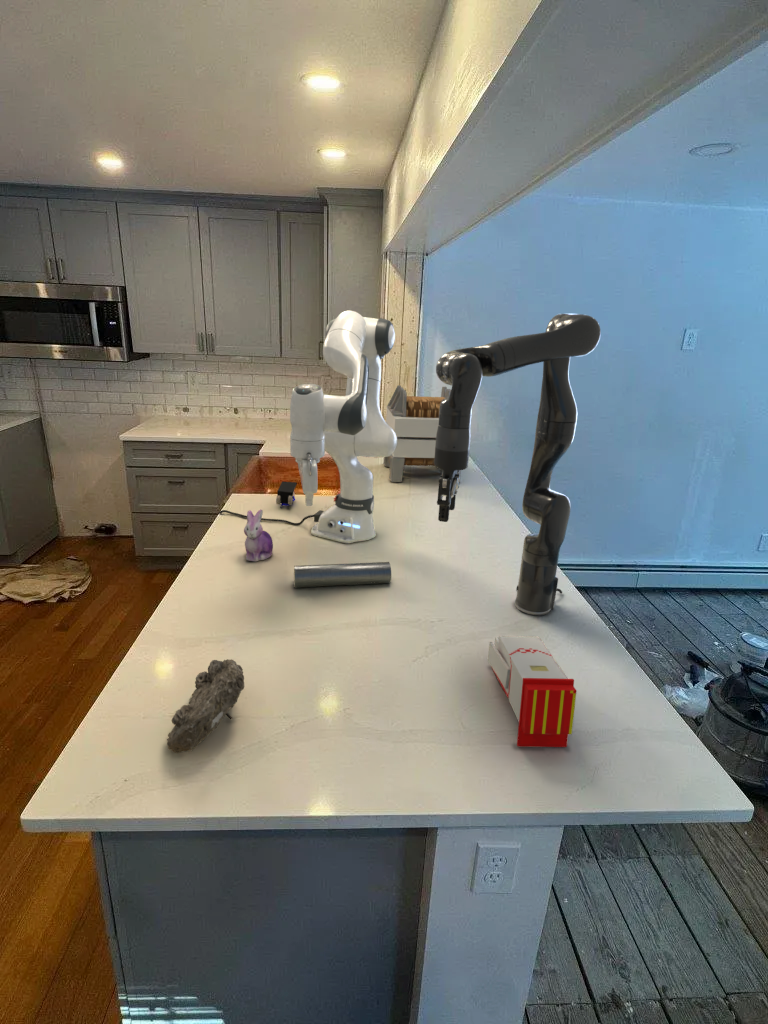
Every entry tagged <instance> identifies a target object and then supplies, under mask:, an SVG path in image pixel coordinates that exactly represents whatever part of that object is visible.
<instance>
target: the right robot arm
mask: <svg viewBox="0 0 768 1024" xmlns="http://www.w3.org/2000/svg"><path fill="white" fill-rule="evenodd" d="M600 340H601V326H600V323H599V322H598V320H597V319H596V318H594V317H593V316H591V315H588V314H584V313H583V314H582V313H558V314H556V315H554V316H553V317H552V318H551V319H550V320H549V322H548V324H547V326H546V329H545V332H544V331H543V332H538V333H532V334H524V335H517V336H516V335H515V336H510V337H507V338H506V337H505V338H503V339H499V340H496V341H495V340H494V341H492V342H489V343H486V344H483V345H479V346H478V345H477V346H469V347H464V348H458V349H453V350H450V351H448V352H446V353H443V355H442V356H441V357H439V359H438V360H437V362H436V366H435V373H436V376H437V378H438V379H439V380H440V381H441V382H442V383H443V384H445V385H447V386H451V388H450V390H451V392H450V396H449V397H448V398H445V399H443V400H442V401H441V403H440V408H439V421H438V429H437V434H436V444H435V458H434V465H435V466H434V467H436V468H437V469H438V468H441V469H442V470H443V473H442V474H441V475H440V476H439V479H438V489H437V491H438V492H437V500H436V504H437V506H438V518H437V520H438V521H439V522H443V523H448V522H449V519H450V511H454V510H455V508H456V498H457V493H458V490H459V488H460V482H459V479H460V480H461V474H460V470H461V471H464V470H466V469H468V467H469V459H470V447H471V426H472V425H471V424H472V413H473V406H474V404H475V401H476V399H477V396H478V393H479V390H480V388H481V383H482V379H483V377H488V378H490V377H496V376H500V375H502V374H507V373H509V372H512V371H515V370H518V369H522V368H525V367H527V366H532V365H536V364H539V363H542V381H541V390H540V397H539V398H540V399H539V407H538V412H537V413H538V414H537V418H536V426H535V435H534V443H533V450H532V456H531V463H530V467H529V472H528V476H527V481H526V484H525V489H524V493H523V498H522V504H521V506H522V507H521V508H522V509H521V510H522V514H523V516H524V517H525V518H527V519H528V520H529V521H532V522H534V523H536V524H538V525H540V527H539V531H538V532H532V533H529V534H527V535H526V536H525V537H524V540H523V546H522V553H521V562H520V569H519V574H518V582H517V586H516V587H515V588H516V590H515V591H516V598H515V601H514V606H515V608H516V609H517V610H519V611H520V612H521V613H524V614H527V615H531V616H545V615H547V614H549V613H550V612H551V611H554V607H555V602H556V595H557V592H559V594H563V590H561V588H558V584H559V577H558V576H557V571H558V570H557V569H558V563H559V556H560V551H561V548H562V545H563V543H564V541H565V538H566V533H567V529H568V524H569V520H570V515H571V501H570V498H569V497H568V496H566V495H565V494H563V493H561V492H558V491H555V490H553V489H551V481H552V476H553V471H554V469H555V467H556V465H557V464H558V463H559V461H560V460H561V459H562V457H563V456H565V454H566V452H567V451H568V450H569V448H571V446H572V444H573V441H574V438H575V433H576V428H577V421H578V408H577V407H578V406H577V403H576V400H575V396H574V394H573V393H574V392H573V389H572V386H571V383H570V376H569V373H570V372H569V371H570V362H571V358H572V357H574V358H575V357H577V358H578V357H584V356H587V355H589V354H590V353H591V352H593V351H594V350H595V349H596V347H597V346H598V344H599V342H600ZM459 474H460V475H459ZM444 497H445V499H443V498H444Z"/></svg>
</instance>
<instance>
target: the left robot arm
mask: <svg viewBox="0 0 768 1024" xmlns="http://www.w3.org/2000/svg"><path fill="white" fill-rule="evenodd" d="M325 327H326V328H325V339H324V342H323V346H322V357H323V359H324V361H325V363H326V365H328V367H329V368H330V369H332V370H333V371H334V372H336V373H338V374H340V375H342V376H346V377H347V378H346V386H345V387H346V388H345V395H335V394H332V395H331V394H326V393H324V390H323V388H322V386H321V385H319V384H316V383H301V384H298V385H296V386H294V387H293V389H292V390H291V396H290V405H289V422H290V425H291V432H290V435H289V436H290V437H289V438H290V440H289V442H290V445H289V446H290V456H291V457H292V458H295V462H296V463H297V467H298V473H299V477H300V478H299V479H300V483H301V489H302V493H303V495H304V496H305V500H304V501H305V505H306V507H312V506H313V505H314V495H315V494H318V489H319V488H318V486H319V485H318V464H319V463H320V462H321V459H322V458H323V457H325V456H326V453H327V454H328V455H329V456H330V457H331V458H332V460H333V461H334V463H335V465H336V467H337V470H338V473H339V483H340V484H339V485H340V488H339V489H340V490H339V491H338V492H337V494H336V495H335V496H334V497H333V502H334V504H333V505H331V506H329V507H328V508H326V509H325V510H322V509H321V510H318V511H317V512H315V513H314V514H310V515H306V516H305V517H303V518H302V519H301V520H300V521H299V522H292V521H289V520H285V519H278V518H277V519H276V518H264V517H262V518H261V521H264V522H279V523H286V524H289V525H293V526H300V525H302V524H303V523H304V522H305V520H307V519H311V518H313V522H314V523H315V524H314V525H313V526H312V528H311V530H310V533H311V536H315V537H319V538H323V539H326V540H330V541H336V542H339V543H343V544H352V543H357V542H365V541H368V540H372V539H373V538H375V537H376V535H377V532H376V528H375V523H374V513H373V512H374V509H375V496H374V474H373V472H372V471H371V469H369V468H368V467H367V466H365V465H364V464H362V463H361V462H360V461H359V459H358V457H360V458H361V457H362V458H372V459H379V458H384V457H389V456H390V455H391V454H392V453H393V452H394V451H395V449H396V446H397V437H396V434H395V432H394V430H393V429H392V428H391V427H390V426H389V425H388V424H387V423H386V419H384V417H383V414H382V411H381V407H380V405H381V404H380V396H381V395H380V392H381V383H382V382H381V381H382V362H381V360H382V359H384V358H385V356H386V355H388V354H389V353H390V352H391V350H392V349H393V347H394V344H395V341H396V332H395V331H396V330H395V327H394V324H393V323H392V321H391V320H389V319H386V318H381V317H380V318H376V317H375V318H374V317H368V316H367V317H366V316H362V314H360V313H359V312H357V311H355V310H345V311H342V312H340V313H339V314H338V316H336V318H333V319H331V320H330V321H329V322H328V323H327V325H326V326H325ZM223 513H227V514H230V515H234V516H237V517H241V518H245V519H247V515H245V514H241V513H238V512H233V511H231V510H226V509H222V510H220V511H219V512H218V515H221V514H223Z"/></svg>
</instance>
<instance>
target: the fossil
mask: <svg viewBox="0 0 768 1024" xmlns="http://www.w3.org/2000/svg"><path fill="white" fill-rule="evenodd" d="M243 670H244V669H243V667H242V665H240V664H237V662H236V661H235V660H234V659H232V658H231V659H227V658H226V659H224V660H223V661H222V660H217V659H212V660H211V661H210V663H209V665H208V666H207V671H201V672H199V673H198V674H197V675H196V676H195V680H194V684H195V685H194V687H195V689H194V690H193V693H192V694H191V697H190V698H189V700H188V704H184V705H182V706H181V707H180V709H177V710H176V711H175V713H174V715H173V716H172V718H171V723H172V724H173V727H172V730H171V731H170V732H168V734H167V738H166V741H167V742H166V745H167V749H168V750H169V751H173V752H174V753H176V754H178V753H182V752H188V751H189V752H192V751H193V750H195V748H196V747H197V746H199V744H200V743H201V742H203V741H204V740H205V739H206V738H207V737H208V736H209V735H210V734H211V733H212V732H214V730H215V729H217V727H218V726H219V724H220V722H221V721H222V720H223V719H224V718H225V716H226V717H227V719H229V720H233V717H232V715H230V714H229V710H230V709H231V708H234V706H235V704H236V703H237V702H238V699H239V697H240V695H241V693H242V691H243V690H245V689H244V688H245V675H244V671H243Z"/></svg>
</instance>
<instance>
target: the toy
mask: <svg viewBox="0 0 768 1024" xmlns="http://www.w3.org/2000/svg"><path fill="white" fill-rule="evenodd" d="M488 643H489V644H488V651H487V658H486V659H487V662H488V664H489V666H490V668H491V669H492V672H493V674H494V675H495V677H496V679H497V681H498V682H499V684H500V687H501V688H502V691H503V692H504V694H505V697H507V699H508V702H509V705H510V706H511V709H512V710H513V713H514V714H515V717H516V720H517V721H518V728H517V729H518V730H517V741H516V746H517V747H520V748H521V747H522V748H523V747H525V748H527V747H529V748H531V747H532V748H533V747H534V748H545V747H546V748H567V747H568V740H569V735H572V733H573V725H574V716H575V708H576V700H577V689H576V687H575V686H574V685H575V679H574V678H569V677H568V676H567V675H566V673H565V672H564V670H563V669H562V668H561V667H560V665H559V663H558V662H557V661H556V659H555V658H554V656H553V654H552V653H551V652H550V650H549V649H548V648H547V646H546V644H545V642H544V641H543V640H542V639H541V638H540V636H534V635H533V636H532V635H530V636H527V635H526V636H525V635H524V636H523V635H498V637H497V636H496V637H494V643H493V641H489V642H488Z"/></svg>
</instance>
